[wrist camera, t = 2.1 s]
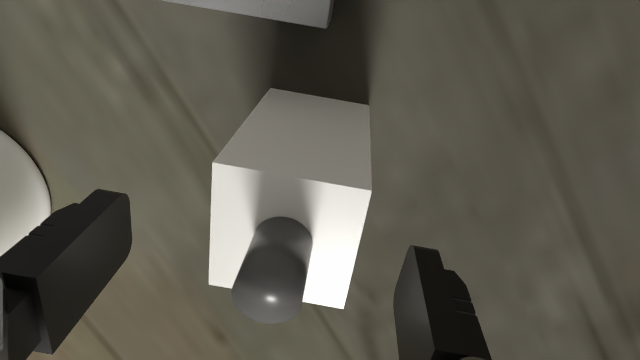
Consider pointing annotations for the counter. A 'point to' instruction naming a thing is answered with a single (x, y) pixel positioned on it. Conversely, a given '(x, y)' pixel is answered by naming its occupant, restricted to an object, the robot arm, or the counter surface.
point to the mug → (19, 194)
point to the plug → (290, 204)
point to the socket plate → (274, 9)
